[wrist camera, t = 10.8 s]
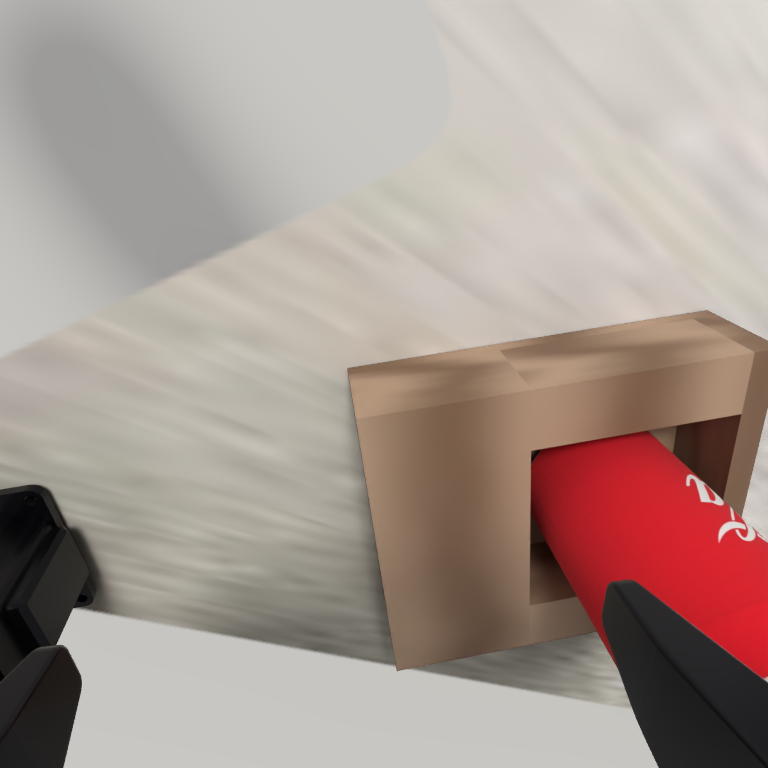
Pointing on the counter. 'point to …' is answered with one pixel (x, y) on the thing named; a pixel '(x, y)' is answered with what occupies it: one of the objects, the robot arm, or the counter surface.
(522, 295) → the counter surface
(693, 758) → the robot arm
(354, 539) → the counter surface
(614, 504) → the beverage can
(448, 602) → the walnut caddy
